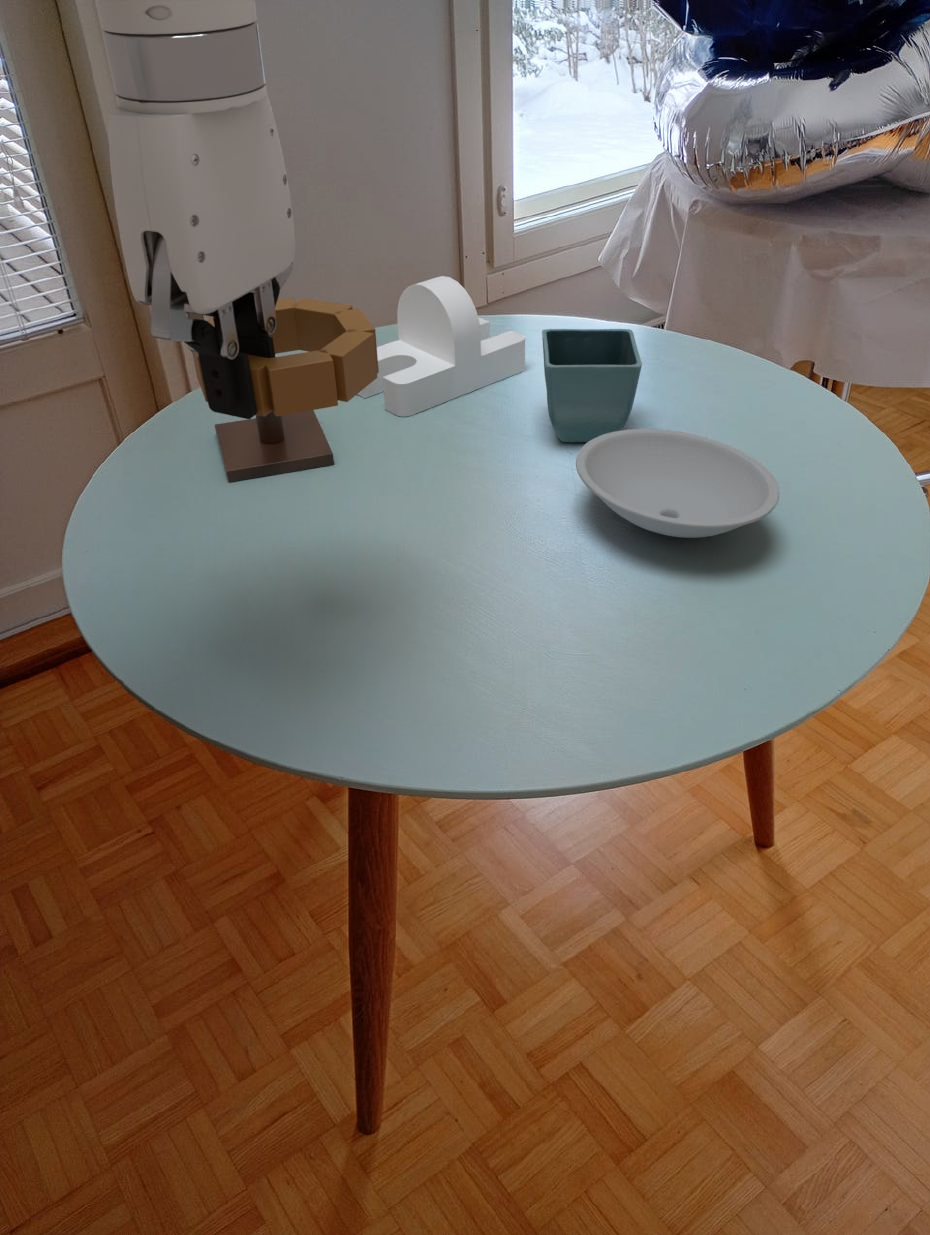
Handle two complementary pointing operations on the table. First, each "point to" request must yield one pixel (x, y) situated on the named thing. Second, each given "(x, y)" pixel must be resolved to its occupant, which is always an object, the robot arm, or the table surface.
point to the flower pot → (590, 380)
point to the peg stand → (272, 445)
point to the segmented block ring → (312, 358)
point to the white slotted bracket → (441, 350)
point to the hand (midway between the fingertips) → (245, 402)
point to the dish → (676, 481)
